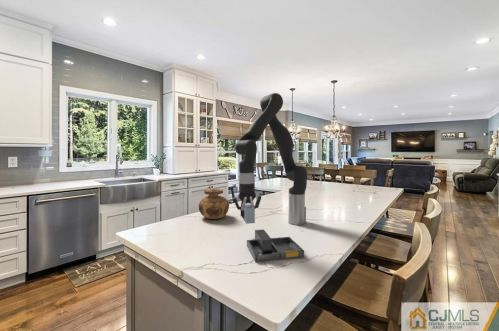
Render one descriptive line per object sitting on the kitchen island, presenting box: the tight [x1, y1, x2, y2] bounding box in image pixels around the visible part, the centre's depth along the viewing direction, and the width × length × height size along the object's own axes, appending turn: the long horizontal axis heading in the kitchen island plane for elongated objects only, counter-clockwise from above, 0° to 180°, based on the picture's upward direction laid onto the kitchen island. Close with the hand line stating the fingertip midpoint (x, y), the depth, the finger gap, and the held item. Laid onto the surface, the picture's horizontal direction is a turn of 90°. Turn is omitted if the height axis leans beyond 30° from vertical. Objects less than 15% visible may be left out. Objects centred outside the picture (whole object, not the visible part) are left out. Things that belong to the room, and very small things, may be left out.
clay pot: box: [198, 187, 230, 220], centre depth 153 cm, size 19×19×20 cm
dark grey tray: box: [246, 228, 305, 263], centre depth 103 cm, size 20×16×8 cm
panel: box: [242, 203, 256, 225], centre depth 118 cm, size 4×12×7 cm, turn 12°
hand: (247, 217), depth 118 cm, fingers closed on panel, 4 cm apart
